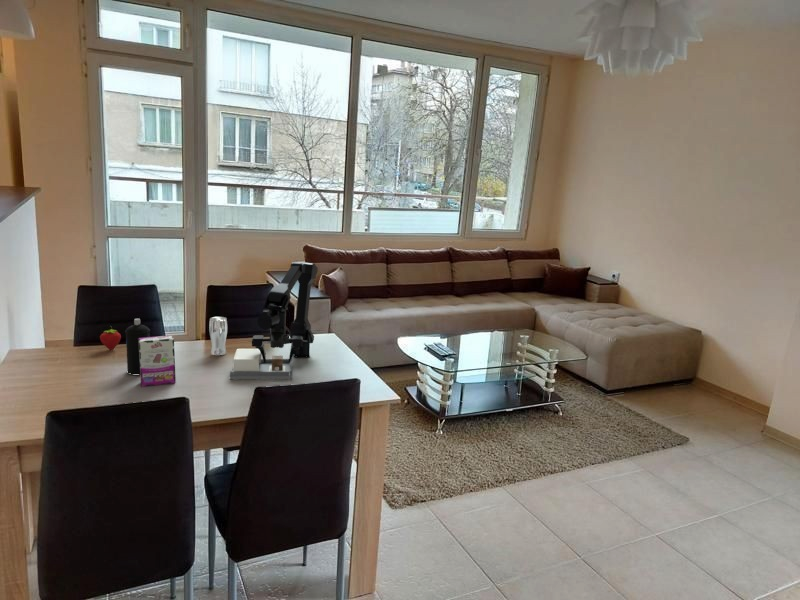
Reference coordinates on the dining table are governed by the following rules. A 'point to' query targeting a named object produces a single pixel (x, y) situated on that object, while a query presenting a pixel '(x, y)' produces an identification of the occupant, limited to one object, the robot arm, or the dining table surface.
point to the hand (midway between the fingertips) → (277, 362)
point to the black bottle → (135, 345)
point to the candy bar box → (157, 360)
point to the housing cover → (247, 360)
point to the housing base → (265, 371)
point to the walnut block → (277, 362)
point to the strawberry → (110, 338)
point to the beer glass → (218, 335)
